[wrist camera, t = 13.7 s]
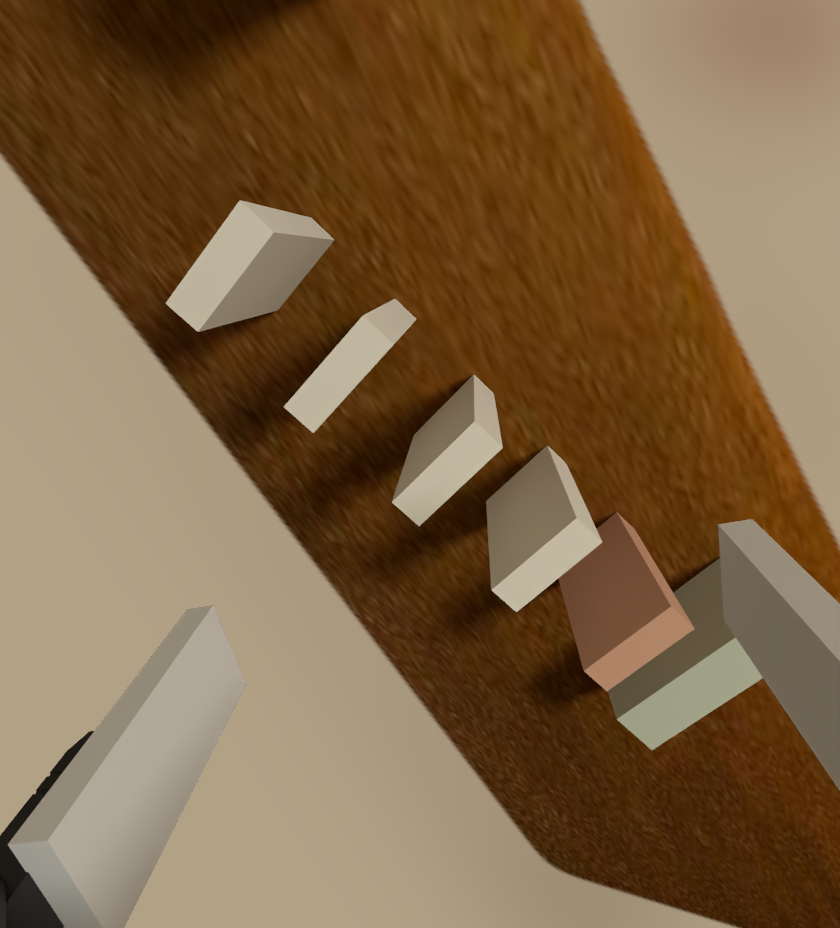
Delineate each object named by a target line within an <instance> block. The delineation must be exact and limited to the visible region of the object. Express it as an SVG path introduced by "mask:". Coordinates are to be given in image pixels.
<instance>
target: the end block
mask: <svg viewBox="0 0 840 928" xmlns="http://www.w3.org/2000/svg"><path fill="white" fill-rule="evenodd" d="M673 594H674V595H675V597H676V599H677V600H678V602H679V604H680V605H681V607H682V608H683V610H684V612H685V613H686V615H687V617H688V618H689V620H690V622H691V623H692V625H693V627H694V628H695V629H694V630H693V631H691V632H690V633H688V634H687V635H686V636H684V637H683V638H681V639H680V640H679V641H677V642H676V643H674V644H673V645H672V646H670V647H669V648H667V649H666V650H664V651H663V652H662V653H660V654H659V655H657V656H656V657H655V658H653V659H652V660H650V661H649V662H648V663H646V664H645V665H643V666H642V667H641V668H639V669H638V670H636V671H635V672H634V673H632V674H631V675H629V676H628V677H627V678H625V679H624V680H622V681H621V682H620V683H618V684H617V685H615V686H614V687H613V688H611V689H610V690H608V694H609V697H610V700H611V703H612V706H613V709H614V713H615V716H616V719H617V720H618V721H619V722H620V723H621V724H623V725H624V726H625V727H626V728H627V729H628V730H629V731H631V732H632V733H633V734H634V735H635V736H636V737H637V738H639V739H640V740H641V741H642V742H643V743H644V744H646V745H647V746H648V747H649V748H650V749H651V750H653V749H655V748H656V747H658V746H659V745H661V744H662V743H664V742H665V741H667V740H668V739H670V738H671V737H673V736H675V735H676V734H678V733H679V732H681V731H682V730H684V729H685V728H687V727H688V726H690V725H691V724H693V723H694V722H696V721H698V720H699V719H701V718H702V717H704V716H705V715H707V714H708V713H710V712H711V711H713V710H714V709H716V708H717V707H719V706H721V705H722V704H724V703H725V702H727V701H728V700H730V699H731V698H733V697H734V696H736V695H737V694H739V693H740V692H742V691H744V690H745V689H747V688H748V687H750V686H751V685H753V684H754V683H756V682H757V681H759V680H760V679H762V678H763V677H762V676H761V674H760V673H759V671H758V670H757V668H756V667H755V665H754V664H753V662H752V661H751V659H750V658H749V656H748V655H747V653H746V652H745V651H744V649H743V648H742V646H741V645H740V643H739V642H738V640H737V639H736V637H735V636H734V634H733V633H732V631H731V630H730V628H729V627H728V625H727V624H726V623H725V621H724V614H723V598H722V581H721V564H720V558H719V559H718V560H716V561H715V562H714V563H712V564H711V565H709V566H708V567H707V568H705V569H704V570H703V571H701V572H700V573H699V574H697V575H696V576H695V577H693V578H692V579H691V580H689V581H688V582H687V583H685V584H684V585H683V586H681V587H680V588H679V589H677V590H676V591H675V592H673Z"/></svg>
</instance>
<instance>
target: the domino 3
mask: <svg viewBox="0 0 840 928" xmlns="http://www.w3.org/2000/svg"><path fill="white" fill-rule="evenodd" d="M502 448H503V447H502V440H501V434H500V428H499V422H498V416H497V410H496V404H495V398H494V393H493V392H492V391H491V390H490V389H488V388H487V387H486V386H485V385H484V384H483V383H482V382H481V381H480V380H479V379H478V378H477V377H476V376H475V375H473V376H472V377H471V378H470V379H469V380H468V381H467V382H466V383H465V384H464V385H463V386H462V387H461V388H460V389H459V390H458V391H457V392H456V393H455V394H454V395H453V396H452V397H451V398H450V399H449V400H448V401H447V402H446V403H445V404H444V405H443V406H442V407H441V408H440V409H439V410H438V411H437V412H436V413H435V414H434V415H433V416H432V417H431V418H430V419H429V420H428V421H427V422H426V423H425V424H424V425H423V426H422V427H421V428H420V429H419V430H418V431H417V432H416V433H415V434H414V436H413V439H412V442H411V445H410V448H409V451H408V454H407V458H406V461H405V464H404V467H403V470H402V473H401V476H400V479H399V482H398V485H397V488H396V491H395V494H394V497H393V500H392V503H393V504H394V505H395V506H396V507H398V508H399V509H400V510H401V511H402V512H403V513H404V514H406V515H407V516H408V517H409V518H410V519H411V520H412V521H414V522H415V523H416V524H417V525H418V526H420V525H421V524H422V523H423V522H424V521H425V520H427V519H428V518H429V517H430V516H431V515H432V514H433V513H434V512H435V511H436V510H437V509H438V508H439V507H440V506H441V505H442V504H444V503H445V502H446V501H447V500H448V499H449V498H450V497H451V496H452V495H453V494H454V493H455V492H456V491H457V490H458V489H459V488H461V487H462V486H463V485H464V484H465V483H466V482H467V481H468V480H469V479H470V478H471V477H472V476H473V475H474V474H475V473H476V472H478V471H479V470H480V469H481V468H482V467H483V466H484V465H485V464H486V463H487V462H488V461H489V460H490V459H491V458H492V457H493V456H495V455H496V454H497V453H498V452H499V451H500V450H501V449H502Z"/></svg>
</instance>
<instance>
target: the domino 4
mask: <svg viewBox="0 0 840 928" xmlns="http://www.w3.org/2000/svg"><path fill="white" fill-rule="evenodd" d="M486 510H487V526H488V543H489V560H490V577H491V590H492V591H493V592H494V593H495V594H496V595H497V596H499V597H500V598H501V599H502V600H503V601H504V602H505V603H506V604H508V605H509V606H510V607H511V608H512V609H513V610H514V611H516V612H518V611H519V610H520V609H521V608H522V607H524V606H525V605H526V604H527V603H529V602H530V601H531V600H532V599H534V598H535V597H536V596H537V595H538V594H540V593H541V592H542V591H543V590H545V589H546V588H547V587H548V586H549V585H551V584H552V583H553V582H554V581H556V580H557V579H558V578H559V577H561V576H562V575H563V574H564V573H565V572H567V571H568V570H569V569H570V568H572V567H573V566H574V565H575V564H577V563H578V562H579V561H580V560H581V559H583V558H584V557H585V556H586V555H588V554H589V553H590V552H591V551H592V550H594V549H595V548H596V547H597V546H599V545H600V544H601V543H602V540H601V538H600V536H599V534H598V531H597V529H596V527H595V525H594V523H593V521H592V518H591V516H590V514H589V512H588V510H587V508H586V505H585V503H584V501H583V499H582V497H581V495H580V492H579V490H578V488H577V486H576V484H575V482H574V479H573V477H572V475H571V473H570V471H569V469H568V466H567V464H566V463H565V462H564V461H563V460H562V459H561V458H560V457H559V456H558V455H557V454H556V453H555V452H554V451H553V450H552V449H551V448H550V447H549V446H548V445H547V446H546V447H545V448H544V449H543V450H542V451H540V452H539V453H538V454H537V455H536V456H535V457H534V458H533V459H532V460H531V461H529V462H528V463H527V464H526V465H525V466H524V467H523V468H522V469H521V470H520V471H519V472H517V473H516V474H515V475H514V476H513V477H512V478H511V479H510V480H509V481H508V482H506V483H505V484H504V485H503V486H502V487H501V488H500V489H499V490H498V491H497V492H496V493H494V494H493V495H492V496H491V497H490V498H489V499H488V500H487V501H486Z"/></svg>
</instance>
